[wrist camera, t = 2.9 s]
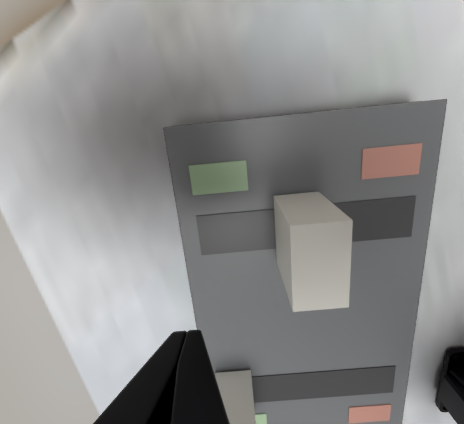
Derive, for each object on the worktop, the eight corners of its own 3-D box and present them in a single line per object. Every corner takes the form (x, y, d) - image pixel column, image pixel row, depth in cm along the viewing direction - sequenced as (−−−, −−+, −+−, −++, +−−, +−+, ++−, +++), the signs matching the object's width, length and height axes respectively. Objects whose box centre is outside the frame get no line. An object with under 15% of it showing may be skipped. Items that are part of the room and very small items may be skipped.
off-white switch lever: (318, 191, 15) (352, 220, 11) (318, 258, 16) (348, 307, 12) (273, 195, 15) (290, 226, 11) (276, 262, 16) (292, 312, 12)
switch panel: (409, 102, 16) (448, 98, 14) (379, 399, 24) (400, 438, 21) (174, 125, 17) (162, 127, 14) (218, 411, 24) (217, 451, 22)
